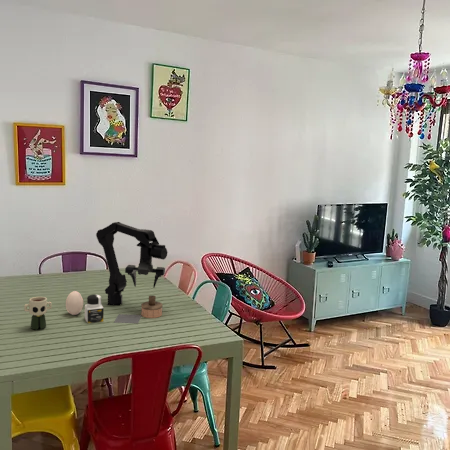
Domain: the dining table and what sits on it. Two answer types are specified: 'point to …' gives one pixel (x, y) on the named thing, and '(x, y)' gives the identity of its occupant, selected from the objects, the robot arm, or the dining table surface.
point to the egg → (74, 303)
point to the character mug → (38, 311)
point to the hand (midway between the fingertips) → (144, 287)
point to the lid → (151, 304)
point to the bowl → (151, 313)
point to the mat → (127, 318)
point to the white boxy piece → (94, 309)
